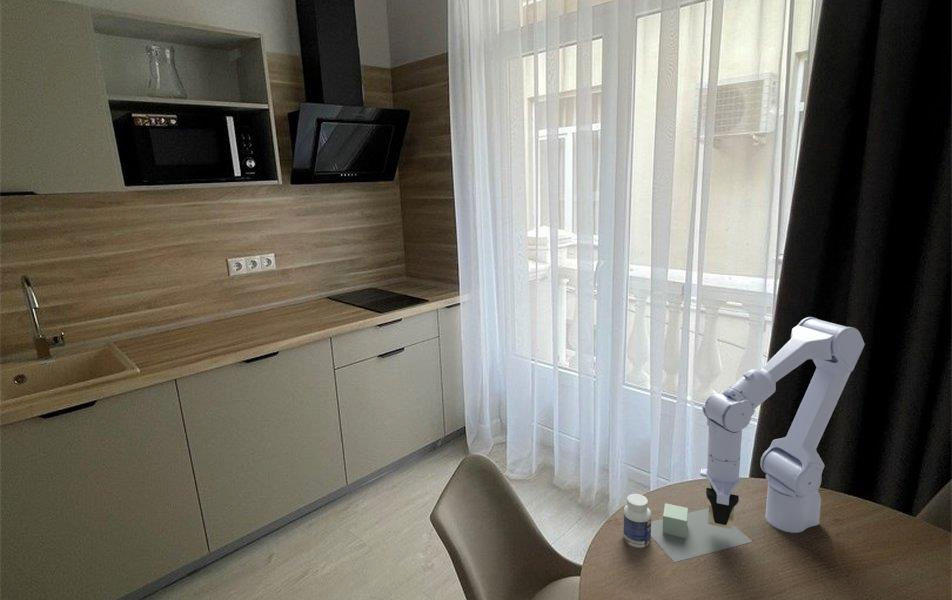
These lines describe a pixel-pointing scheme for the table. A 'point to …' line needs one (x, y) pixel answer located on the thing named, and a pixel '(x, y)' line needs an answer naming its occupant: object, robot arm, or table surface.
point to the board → (697, 537)
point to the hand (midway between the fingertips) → (720, 515)
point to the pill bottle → (637, 521)
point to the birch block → (729, 524)
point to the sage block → (675, 520)
